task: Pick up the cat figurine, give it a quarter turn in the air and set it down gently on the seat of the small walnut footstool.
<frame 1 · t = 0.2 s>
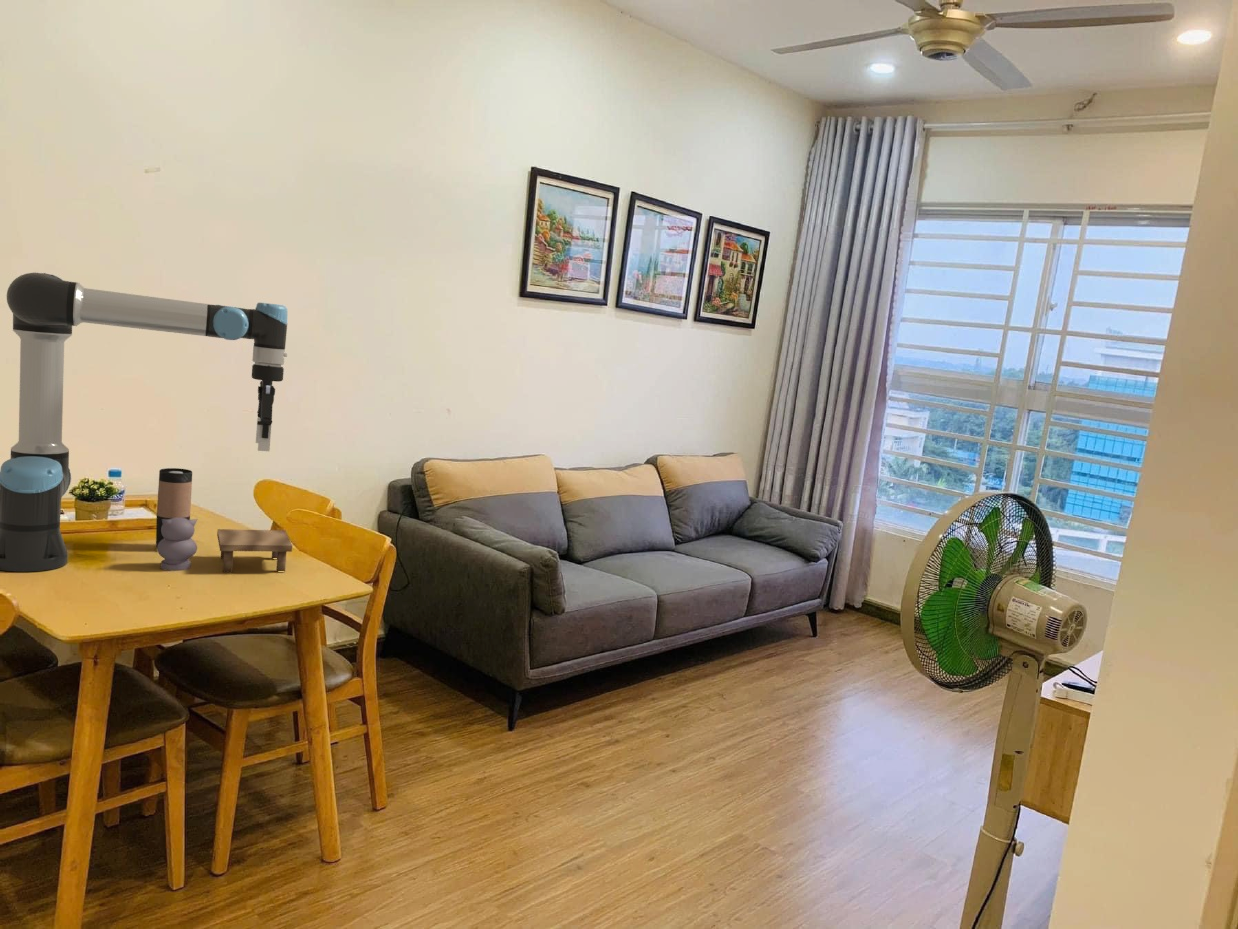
hand: (262, 447, 235), 28 cm above the table, fingers open, 13 cm apart
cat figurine: (176, 567, 216), on the table
travel mug: (171, 549, 231), on the table
footstool: (252, 564, 225), on the table
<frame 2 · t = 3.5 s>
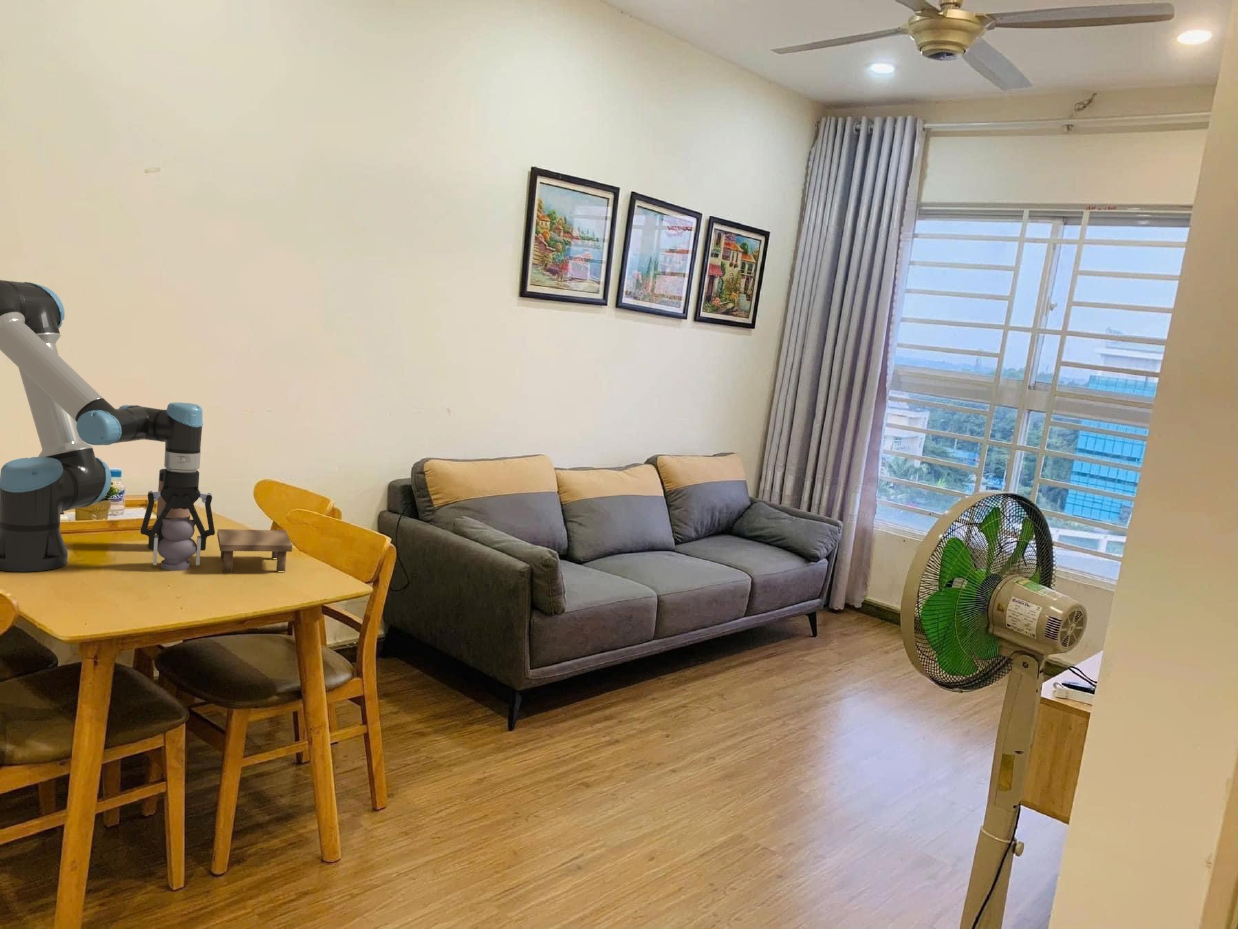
hand: (176, 563, 215), 1 cm above the table, fingers closed on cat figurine, 8 cm apart
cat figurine: (176, 567, 216), on the table, touching gripper
everything else where it was.
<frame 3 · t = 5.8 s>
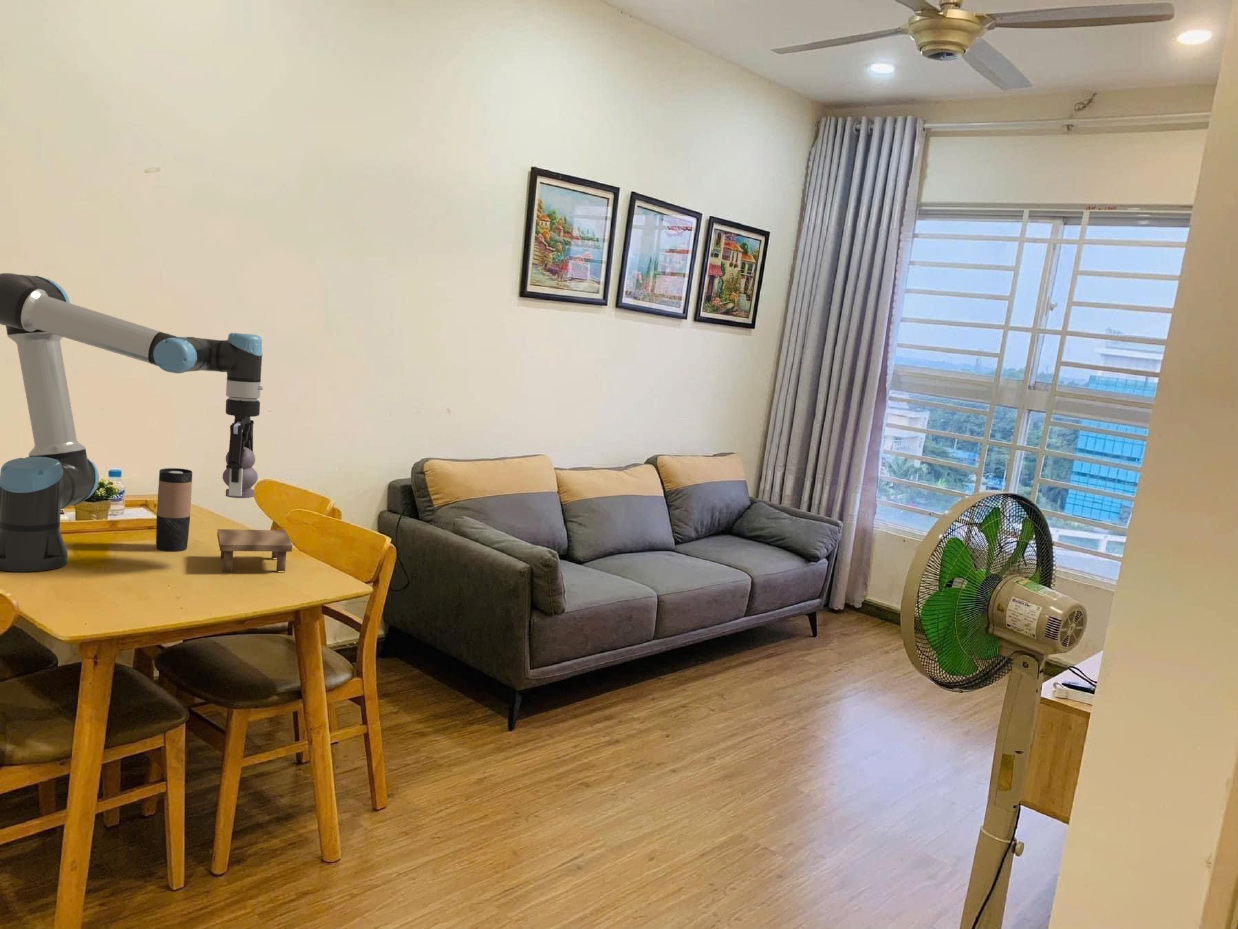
hand: (239, 492, 220), 18 cm above the table, fingers closed on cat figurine, 8 cm apart
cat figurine: (239, 496, 220), point 17 cm above the table, touching gripper
everything else where it was.
when the fingers open (9 cm above the table, at t = 8.0 s): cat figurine drops 1 cm, resting on footstool.
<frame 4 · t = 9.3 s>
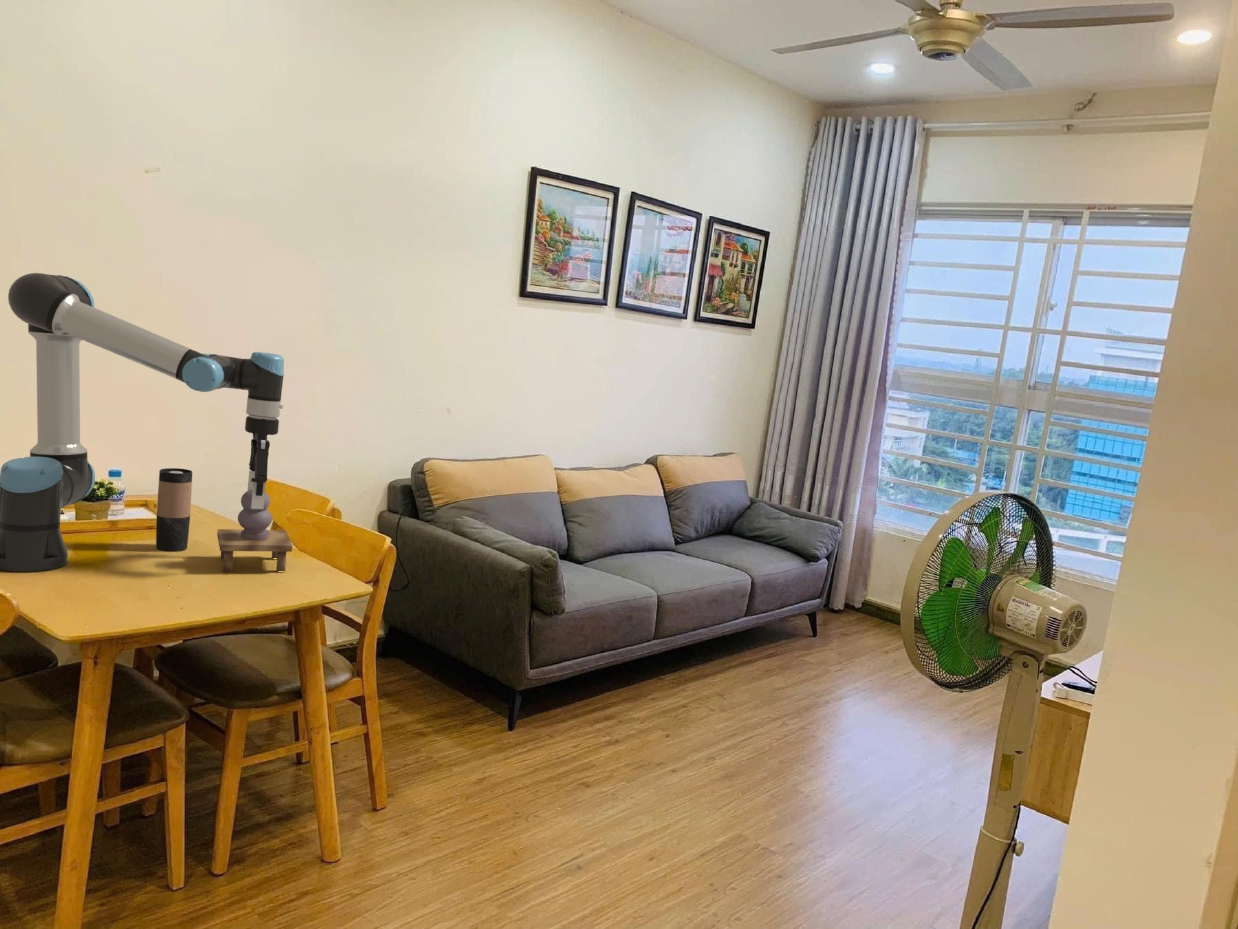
hand: (255, 502, 223), 16 cm above the table, fingers open, 13 cm apart
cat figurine: (254, 537, 224), point 7 cm above the table, touching footstool
everything else where it was.
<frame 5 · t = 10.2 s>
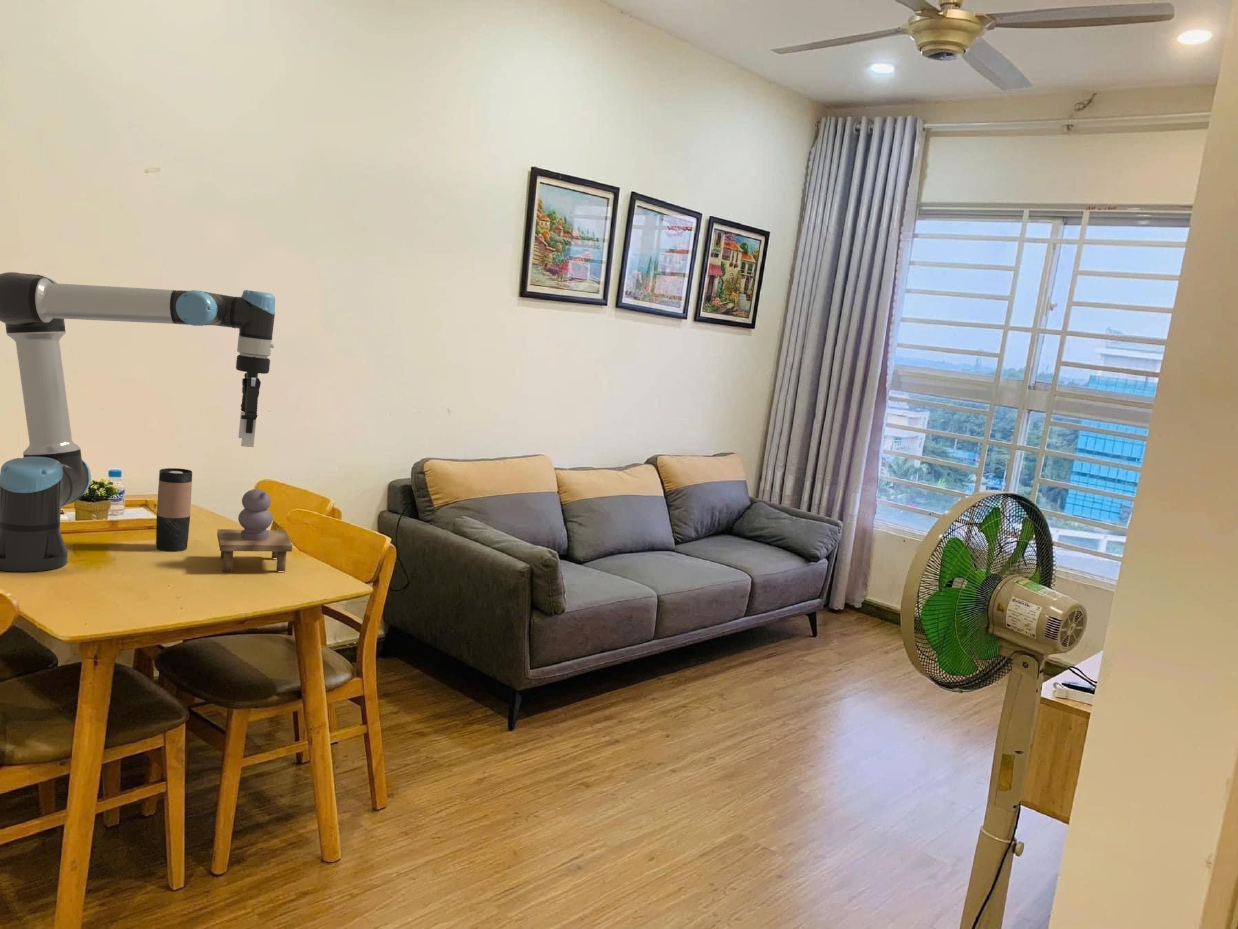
hand: (245, 442, 223), 30 cm above the table, fingers open, 13 cm apart
nothing on the table moved.
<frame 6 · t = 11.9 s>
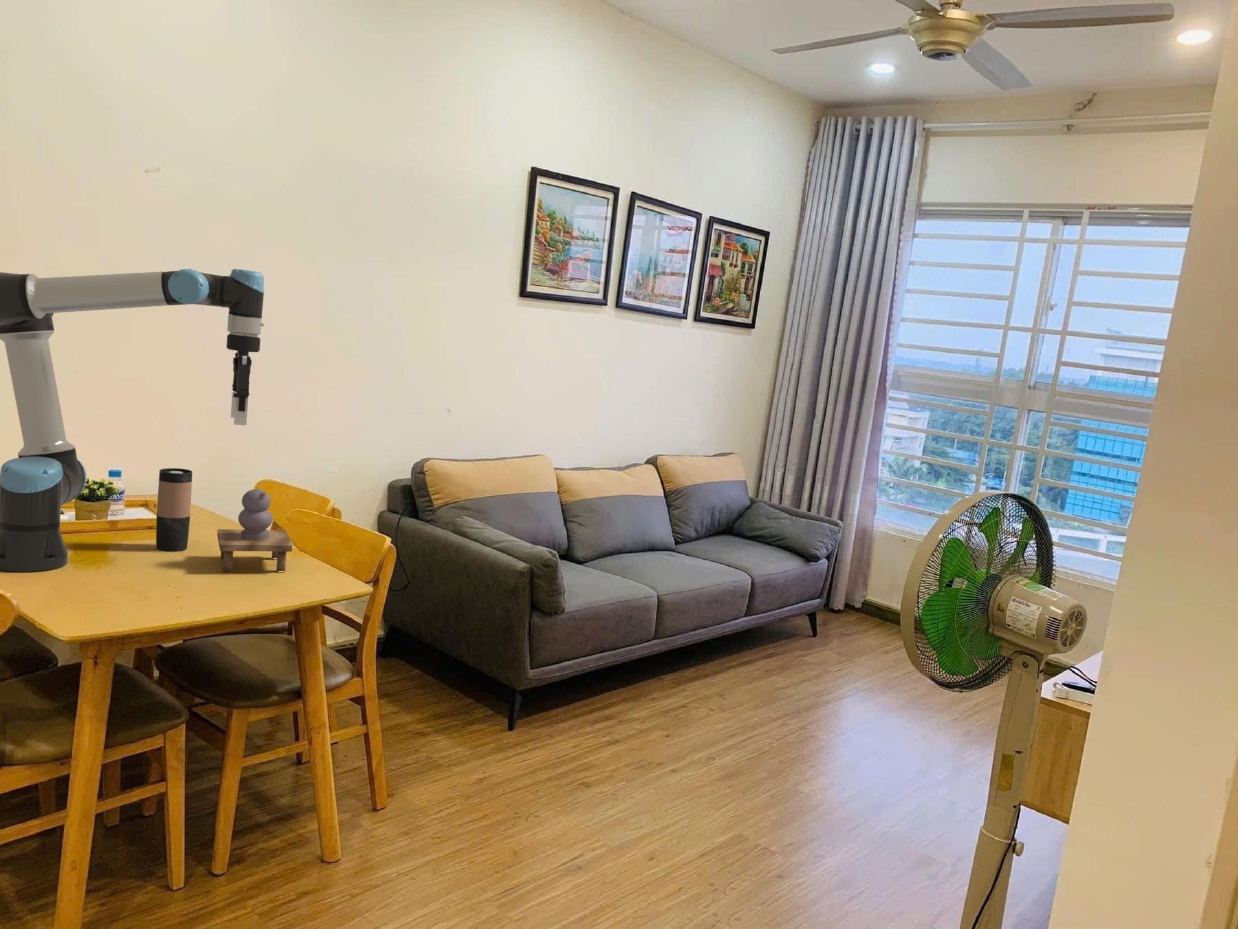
hand: (238, 421, 224), 35 cm above the table, fingers open, 13 cm apart
nothing on the table moved.
at the end: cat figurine inside the target area on the footstool (0.1 cm from its centre), point 6.8 cm above the footstool's base; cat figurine tilted 0°; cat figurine touching footstool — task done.
